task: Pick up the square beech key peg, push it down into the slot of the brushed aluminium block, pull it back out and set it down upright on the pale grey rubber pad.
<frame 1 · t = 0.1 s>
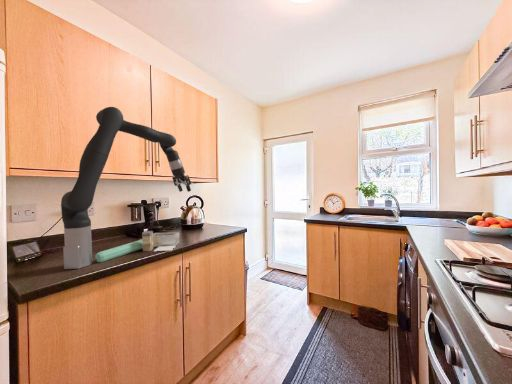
hand: (185, 191, 142), 31 cm above the countertop, tool tilted 20°, fingers open, 8 cm apart
key peg: (148, 250, 119), on the countertop
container: (122, 255, 112), on the countertop
keyway block: (164, 244, 131), on the countertop
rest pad: (165, 249, 120), on the countertop
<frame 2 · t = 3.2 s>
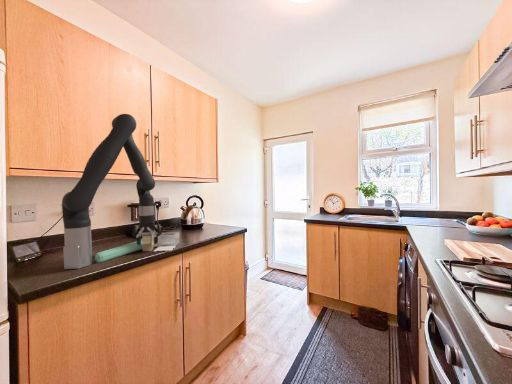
hand: (147, 243, 119), 3 cm above the countertop, tool pointing down, fingers open, 8 cm apart
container: (122, 255, 112), on the countertop, touching gripper
everything else where it was.
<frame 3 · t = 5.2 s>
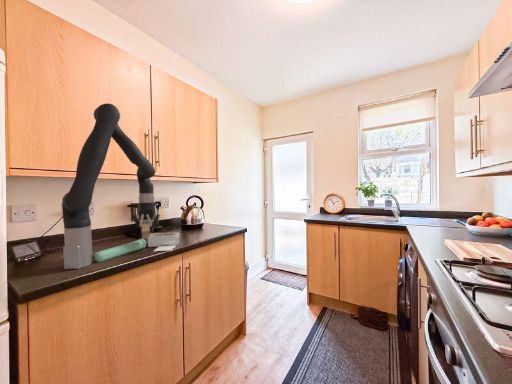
hand: (146, 232, 119), 9 cm above the countertop, tool pointing down, fingers closed on key peg, 4 cm apart
key peg: (147, 237, 119), point 7 cm above the countertop, touching gripper
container: (121, 255, 112), on the countertop
when the fingers open (5 cm above the countertop, at t = 16.0 s): key peg drops 1 cm, resting on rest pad.
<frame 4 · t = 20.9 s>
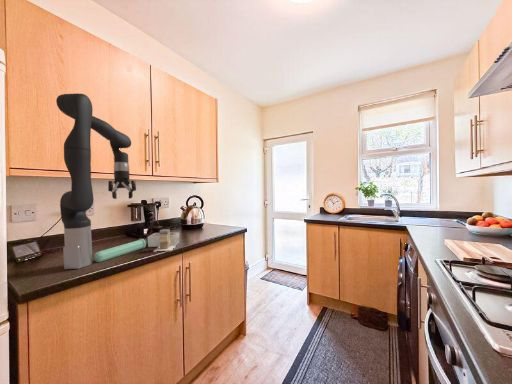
hand: (122, 198, 126), 28 cm above the countertop, tool pointing down, fingers open, 8 cm apart
key peg: (165, 247, 120), point 1 cm above the countertop, touching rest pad
everything else where it was.
at the end: key peg 0.4 cm off-centre on the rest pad, point 0.6 cm above the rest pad's base; key peg tilted 0°; the gripper is holding nothing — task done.
